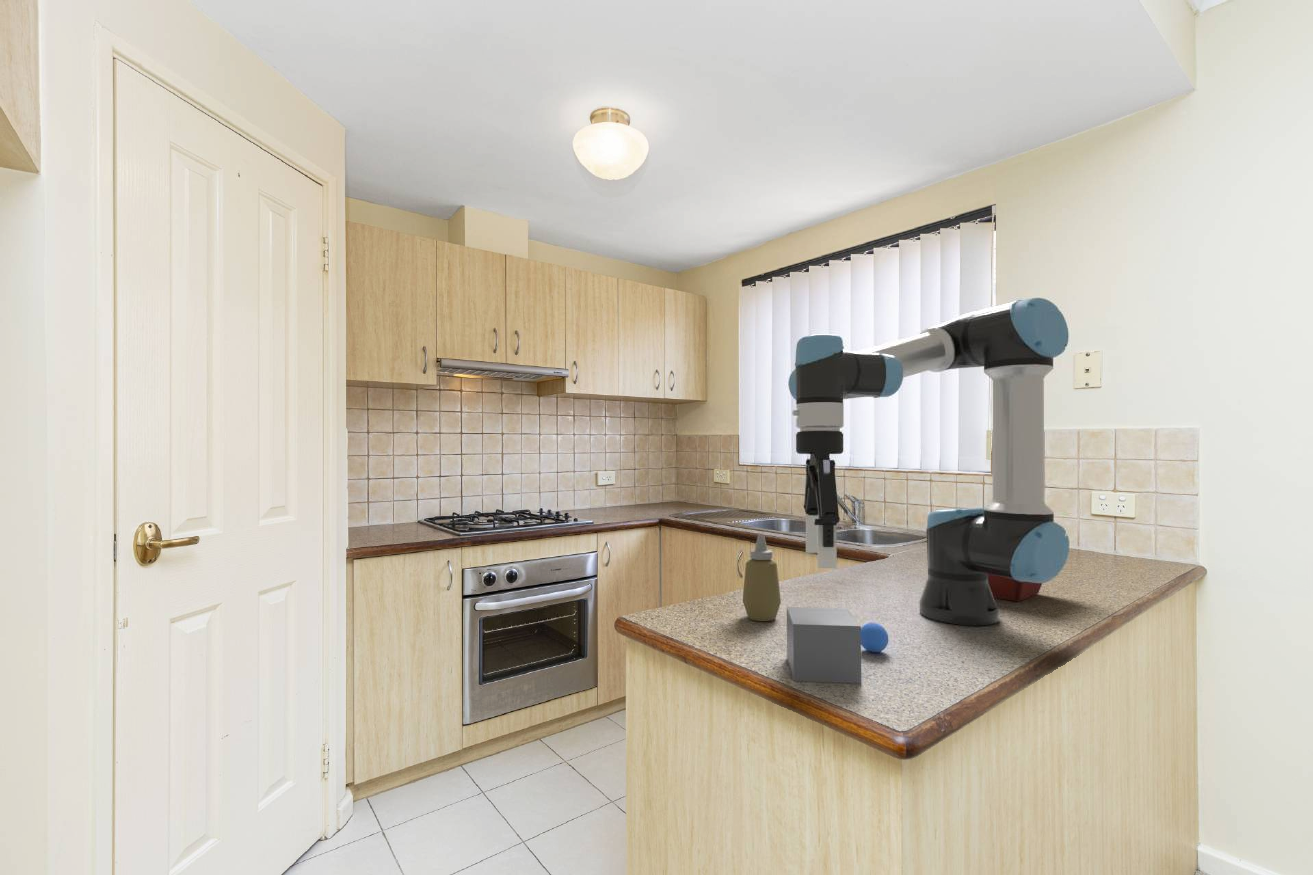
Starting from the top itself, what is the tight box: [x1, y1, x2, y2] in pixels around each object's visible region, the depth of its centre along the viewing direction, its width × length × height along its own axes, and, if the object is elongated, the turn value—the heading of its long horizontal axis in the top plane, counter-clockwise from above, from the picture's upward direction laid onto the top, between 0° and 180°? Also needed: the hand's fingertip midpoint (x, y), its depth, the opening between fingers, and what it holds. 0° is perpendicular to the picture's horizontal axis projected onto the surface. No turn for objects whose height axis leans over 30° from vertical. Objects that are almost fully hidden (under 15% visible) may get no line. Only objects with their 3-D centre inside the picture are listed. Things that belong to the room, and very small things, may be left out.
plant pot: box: [988, 574, 1043, 602], centre depth 147 cm, size 19×19×17 cm
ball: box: [861, 622, 889, 653], centre depth 105 cm, size 5×5×5 cm
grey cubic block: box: [786, 606, 862, 685], centre depth 97 cm, size 10×10×9 cm
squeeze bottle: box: [742, 532, 782, 622], centre depth 126 cm, size 8×8×18 cm
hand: (820, 560), depth 97 cm, fingers open, 13 cm apart
